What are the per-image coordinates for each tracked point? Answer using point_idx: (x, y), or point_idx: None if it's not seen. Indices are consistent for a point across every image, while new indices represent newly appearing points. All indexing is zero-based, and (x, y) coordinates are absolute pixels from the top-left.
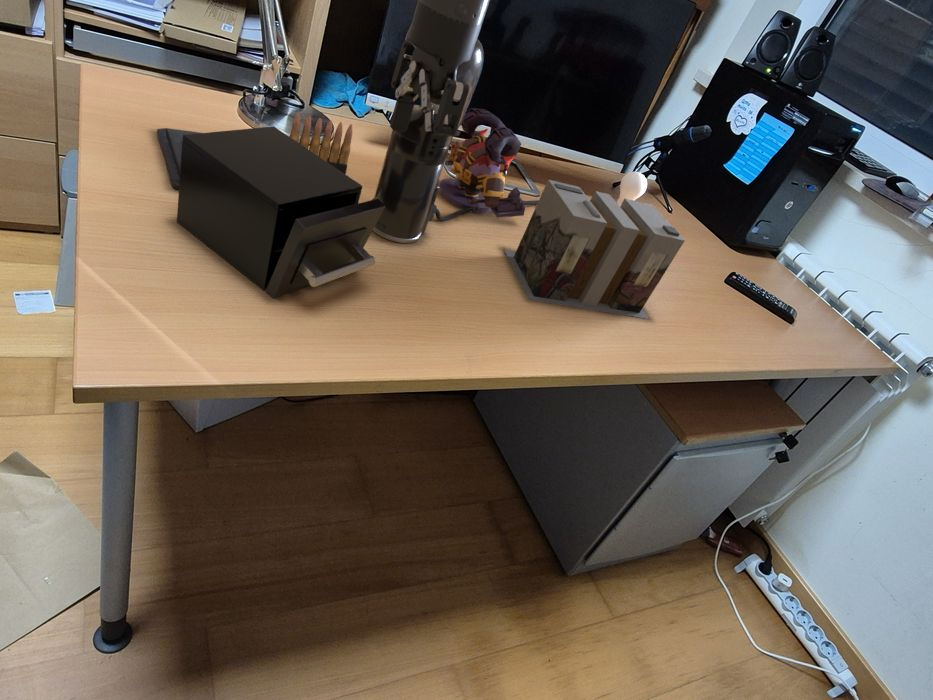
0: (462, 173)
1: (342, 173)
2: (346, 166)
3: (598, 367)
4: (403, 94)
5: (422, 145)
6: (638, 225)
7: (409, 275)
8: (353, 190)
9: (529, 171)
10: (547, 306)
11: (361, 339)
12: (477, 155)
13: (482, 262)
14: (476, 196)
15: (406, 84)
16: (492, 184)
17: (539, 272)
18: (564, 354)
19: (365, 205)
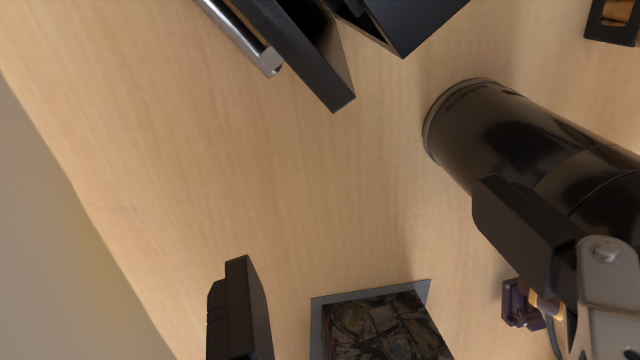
0: None
1: (458, 4)
2: (629, 45)
3: (183, 357)
4: (577, 286)
5: (227, 305)
6: None
7: (330, 139)
8: (380, 31)
9: None
10: (302, 317)
11: (102, 37)
12: None
13: (392, 249)
14: None
15: (588, 350)
16: (548, 299)
17: (343, 327)
18: (195, 325)
19: (308, 60)
